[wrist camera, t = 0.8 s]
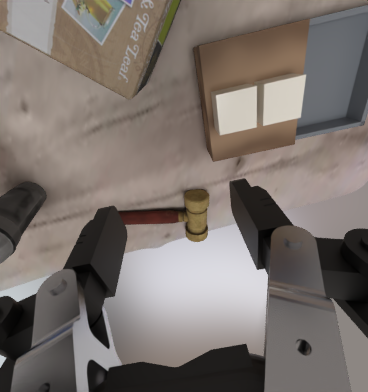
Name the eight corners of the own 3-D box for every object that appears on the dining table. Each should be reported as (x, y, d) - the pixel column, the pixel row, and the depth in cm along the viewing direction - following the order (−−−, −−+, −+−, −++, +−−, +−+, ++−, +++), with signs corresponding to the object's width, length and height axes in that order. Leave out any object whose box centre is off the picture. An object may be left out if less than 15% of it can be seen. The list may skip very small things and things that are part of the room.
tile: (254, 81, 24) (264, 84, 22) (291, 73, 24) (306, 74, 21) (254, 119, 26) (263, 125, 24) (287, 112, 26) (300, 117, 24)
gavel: (104, 245, 40) (90, 205, 35) (111, 229, 44) (99, 191, 38) (208, 242, 40) (210, 201, 34) (206, 226, 44) (207, 187, 38)
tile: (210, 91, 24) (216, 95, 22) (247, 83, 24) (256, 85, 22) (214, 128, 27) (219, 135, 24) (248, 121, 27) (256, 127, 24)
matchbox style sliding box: (193, 48, 26) (198, 45, 22) (286, 25, 25) (310, 18, 21) (207, 149, 34) (213, 161, 29) (278, 133, 33) (294, 144, 29)
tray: (286, 25, 25) (302, 20, 22) (375, 4, 25) (403, -4, 22) (278, 133, 33) (289, 141, 30) (345, 119, 33) (363, 124, 30)
